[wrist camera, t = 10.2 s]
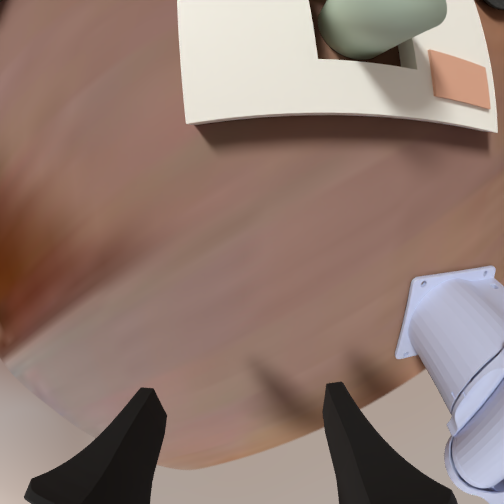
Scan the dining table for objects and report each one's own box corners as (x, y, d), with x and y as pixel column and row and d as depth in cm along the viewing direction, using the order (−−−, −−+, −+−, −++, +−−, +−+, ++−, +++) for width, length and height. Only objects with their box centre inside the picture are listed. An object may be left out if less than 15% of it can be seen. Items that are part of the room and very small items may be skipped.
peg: (381, 6, 11) (434, -35, 5) (389, 64, 13) (455, 40, 7) (314, -4, 12) (343, -62, 5) (321, 56, 13) (361, 14, 7)
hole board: (455, -8, 10) (470, -16, 7) (480, 130, 14) (500, 133, 12) (183, -33, 11) (175, -50, 8) (194, 125, 15) (184, 123, 13)
